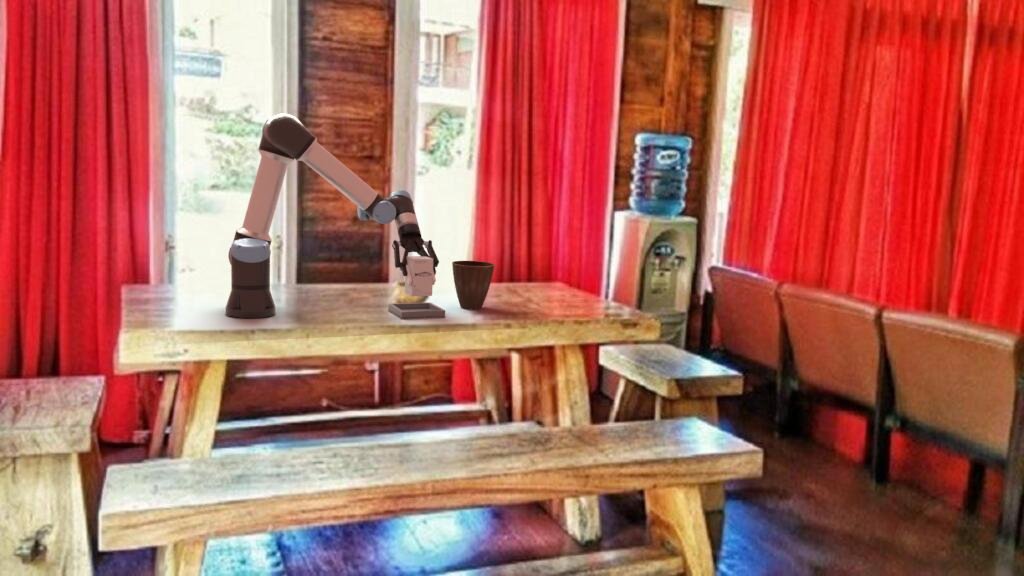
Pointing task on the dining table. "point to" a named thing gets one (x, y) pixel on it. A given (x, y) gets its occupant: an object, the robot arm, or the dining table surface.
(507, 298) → the dining table surface
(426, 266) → the supplement box
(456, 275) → the plant pot
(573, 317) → the dining table surface
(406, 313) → the tray
